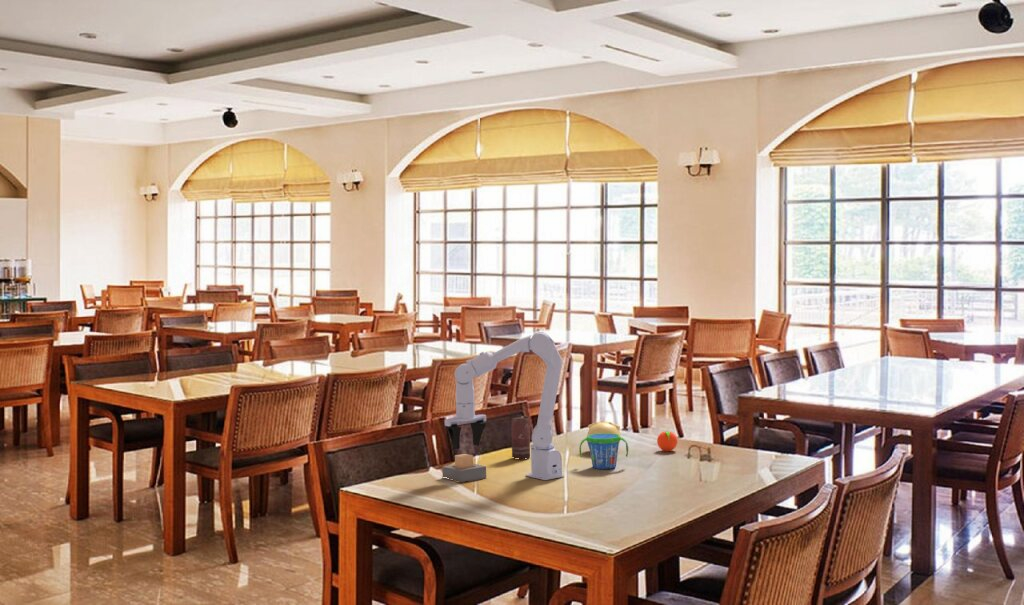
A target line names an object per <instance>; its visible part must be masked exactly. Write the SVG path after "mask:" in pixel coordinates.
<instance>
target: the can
mask: <svg viewBox="0 0 1024 605" xmlns="http://www.w3.org/2000/svg"><path fill="white" fill-rule="evenodd" d="M529 418H530V417H529V416H524V415H520V416H513V417H512V418H511V421H510V422H511V426H510V427H511V428H510V430H511V458H512V457H514V458H519V459H525V458H529V459H531V444H530V443H531V440H530V439H531V434H530V433H531V432H530V419H529Z"/></svg>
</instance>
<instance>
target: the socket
mask: <svg viewBox="0 0 1024 605" xmlns="http://www.w3.org/2000/svg"><path fill="white" fill-rule="evenodd" d="M441 468H442V469H441V470H442V478H443V477H447V478H449V479H453V480H456V481H459V482H458V483H460V482H462V483H466V482H465V481H468V482H473V481H478V480H484V479H487V467H486V465H481V464H477V463H476V464H475V463H473V467H471V468H465V469H460V468H456V467H455V463H454V464H449V465H443V466H441ZM456 481H455V482H456Z"/></svg>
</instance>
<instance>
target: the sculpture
mask: <svg viewBox="0 0 1024 605" xmlns="http://www.w3.org/2000/svg"><path fill="white" fill-rule="evenodd" d="M587 427H588V431H587V435H586V437H587V436H588V435H592V434H600V433H611V434H618V435H620V436H621V433H620V428H621V426H620V425H619V424H616V423H614V422H611V421H610V422H609V421H607V420H601V421H595V422H593V423H591V424H588V425H587ZM586 442H587V441H586ZM620 443H621V440H620V441H619V445H618V448H619V447H620ZM587 446H588V447H589V445H588V442H587Z"/></svg>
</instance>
